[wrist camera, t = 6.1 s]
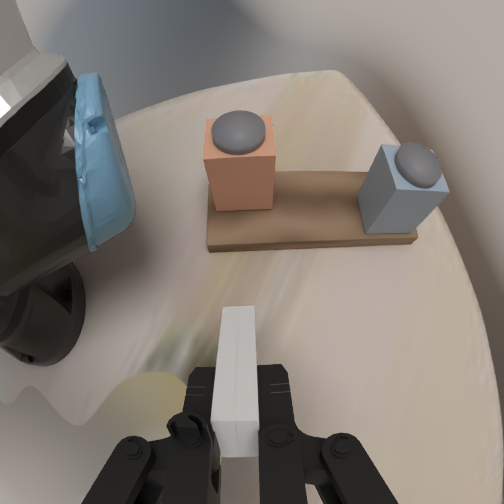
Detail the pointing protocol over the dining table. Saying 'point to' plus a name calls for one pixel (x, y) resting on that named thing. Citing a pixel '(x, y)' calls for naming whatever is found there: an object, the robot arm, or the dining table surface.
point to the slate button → (401, 189)
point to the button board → (300, 216)
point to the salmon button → (240, 161)
